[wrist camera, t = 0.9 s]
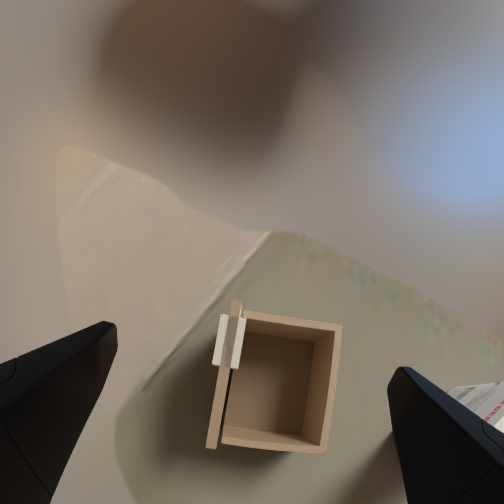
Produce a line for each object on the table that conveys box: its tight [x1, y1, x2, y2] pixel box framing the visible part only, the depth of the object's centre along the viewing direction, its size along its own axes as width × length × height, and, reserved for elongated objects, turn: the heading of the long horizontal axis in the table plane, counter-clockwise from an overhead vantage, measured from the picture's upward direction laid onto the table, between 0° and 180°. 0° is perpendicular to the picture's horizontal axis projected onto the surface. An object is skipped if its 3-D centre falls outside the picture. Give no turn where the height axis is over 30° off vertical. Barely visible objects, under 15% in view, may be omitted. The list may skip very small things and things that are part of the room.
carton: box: [221, 310, 342, 453], centre depth 21 cm, size 9×7×6 cm
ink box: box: [393, 381, 504, 443], centre depth 17 cm, size 9×5×12 cm, turn 110°
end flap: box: [205, 299, 247, 449], centre depth 20 cm, size 9×2×8 cm, turn 171°
